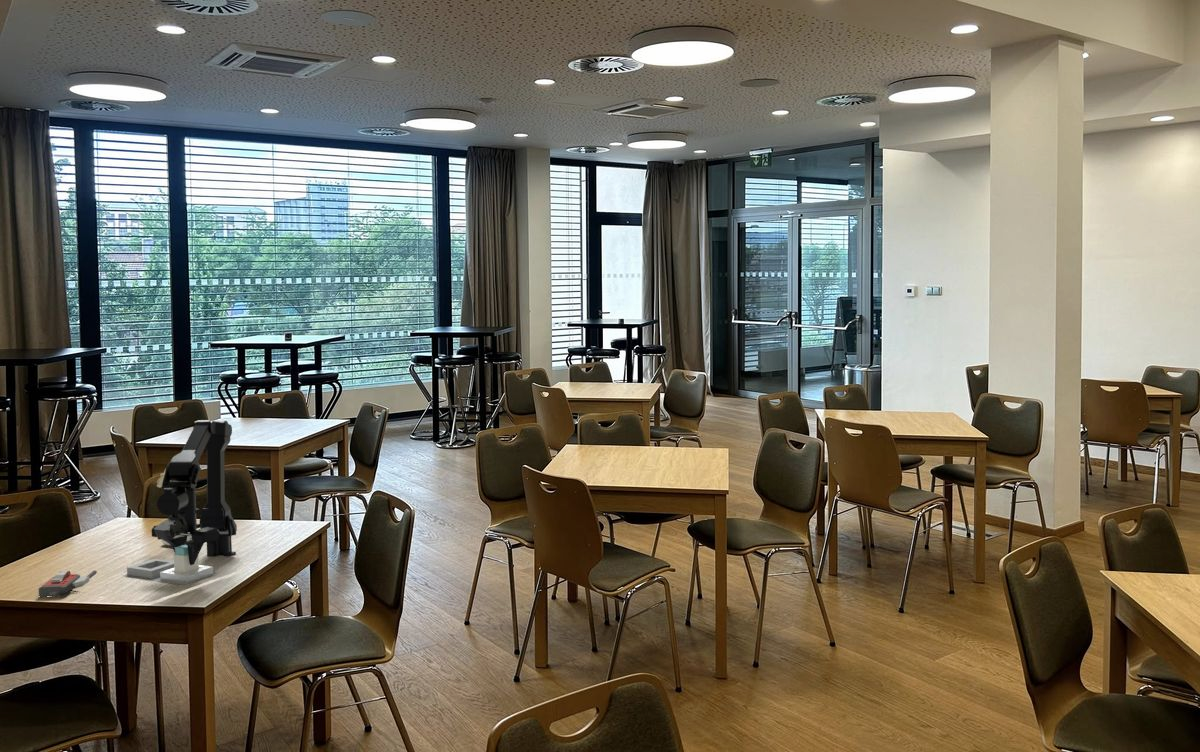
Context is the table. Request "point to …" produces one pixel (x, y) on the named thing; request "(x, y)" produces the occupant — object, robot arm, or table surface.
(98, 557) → the table surface
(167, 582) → the station board
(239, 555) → the table surface
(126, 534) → the table surface
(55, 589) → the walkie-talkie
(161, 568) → the grey square socket frame
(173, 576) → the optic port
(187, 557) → the plug
